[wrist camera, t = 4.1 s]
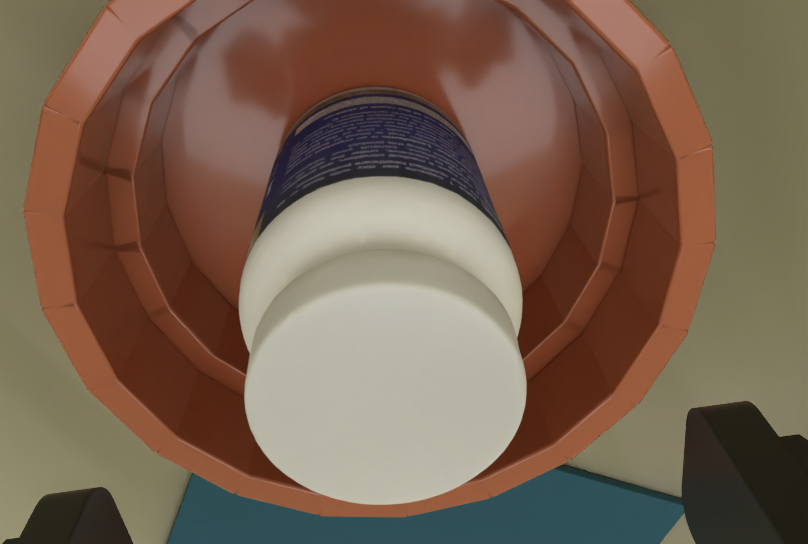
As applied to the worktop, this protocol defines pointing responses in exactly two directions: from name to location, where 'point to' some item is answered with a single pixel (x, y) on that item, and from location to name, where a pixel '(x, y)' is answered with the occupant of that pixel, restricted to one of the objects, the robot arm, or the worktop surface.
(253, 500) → the towel
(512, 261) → the pill bottle
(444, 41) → the pot
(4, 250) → the worktop surface
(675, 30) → the worktop surface
